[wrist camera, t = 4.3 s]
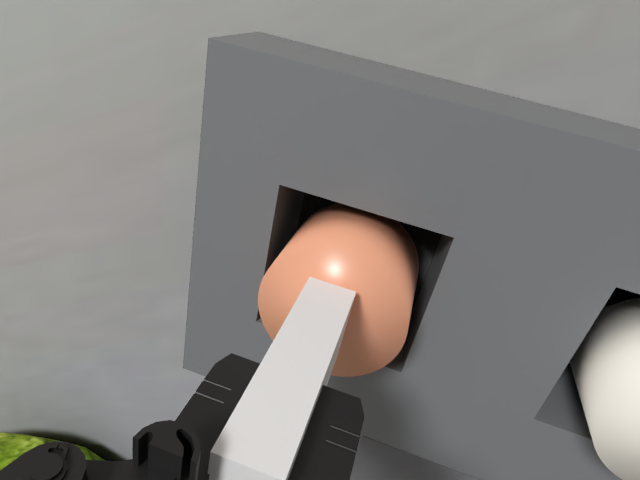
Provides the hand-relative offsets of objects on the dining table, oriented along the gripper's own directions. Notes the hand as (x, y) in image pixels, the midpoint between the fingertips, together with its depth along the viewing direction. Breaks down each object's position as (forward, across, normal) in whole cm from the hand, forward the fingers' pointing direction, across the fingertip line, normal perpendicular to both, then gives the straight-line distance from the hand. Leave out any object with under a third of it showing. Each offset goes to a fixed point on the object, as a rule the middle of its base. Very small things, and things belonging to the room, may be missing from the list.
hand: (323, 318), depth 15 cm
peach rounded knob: (+4, 0, 0) cm, 4 cm away
